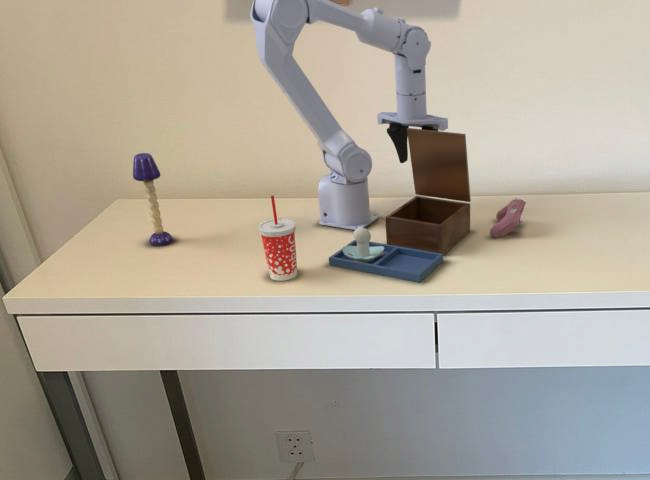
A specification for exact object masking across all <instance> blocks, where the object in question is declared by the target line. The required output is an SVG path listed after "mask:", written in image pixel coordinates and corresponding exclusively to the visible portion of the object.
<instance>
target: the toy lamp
mask: <svg viewBox="0 0 650 480" xmlns="http://www.w3.org/2000/svg"><path fill="white" fill-rule="evenodd" d="M132 163H133V164H132V177H133V179H134V180H135V181H137V182H143V185H144V186H145V187H144V191H145V193H146V199H147V202H148V208H149V210H150V212H149V215H150V218H151V224H152V225H153V233H152V234H151V235H150V237H149V244H150V245H151V246H153V247H154V246H155V247H162V246H163V247H164V246H168V245H170V244H172V243H173V242H174V239H173V236H172V234H170V233H169V232H168V231H164V226H163V225H162V224H163V220H162V218H161V211H160V204H159V202H158V196H157V194H156V187H155V185H154V182H155V180H157V179H159V178H160V177H161V172H160V170H159V168H158V165H157V163H156V162H155V159H154V158H153V155H152V154H150V153H148V152H141V153H137V154H135V155H134V156H133V162H132Z"/></svg>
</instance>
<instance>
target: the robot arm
mask: <svg viewBox="0 0 650 480" xmlns="http://www.w3.org/2000/svg"><path fill="white" fill-rule="evenodd" d="M384 12H385V11H384V9H383V8H382V9H381V8H379V7H374V8H373V9H371V8H367V9H365V10H364V11H362V12H360V13H359V12H358V11H355V10H352V9H350V8H347V7H345V6H343V5H340V4H337V3H335V2H333V1H330V0H252V5H251V8H250V14H249V17H250V19H251V22H252V24H253V30H254V36H255V44H256V51H257V56H258V59H259V61H260V62H261V64H262V66H263V67H264V68H265V70H266V71H267V72H268V74H269V75H270V77H271V78H272V80H273V81H274V82H275V83H276V85H277V86H278V88H279V89H280V90H281V92H282V93H283V94H284V96H285V98H287V100H288V102H289V103H290V104H291V106H292V107H293V108H294V110H295V111H296V112H297V114H298V115H299V117H300V118H301V120H302V121H303V122H304V124H305V125H306V126H307V128H308V130H309V131H310V132H311V133H312V135H313V136H314V137H315V139H316V142H317V143H316V144H317V147H318V148H319V149H320V152H321V155H322V160H323V163H324V164H325V166H326V167H327V168H328V169H329V174H326V175H324V176H323V177H322V178H321V179H320V180H319V184H318V188H317V198H318V207H319V215H320V220H319V221H318V224H319V225H322V226H328V227H333V228H338V229H339V228H340V229H346V230H352V231H355V230H356V229H357V228H365V229H366V228H367V227H368V226H369V225H371V224H372V223H373V222H375V221H376V220H378V219H379V218H380V215H379V214H373V213H371V207H370V193H369V180H368V177H369V175H370V173H371V171H372V169H373V159H372V156H371V155H370V153H369V152H368V151H367V150H366V149H364V148H362V147H360V146H359V145H357V143H356V142H355V140H354V139H353V138H352V137H351V136H350V135H349V134H348V133H347V132H346V130H344V129H343V128H342V127H341V125H340V123H339V122H338V120H337V119H336V118H335V116H334V115H333V113H332V112H331V110H330V109H329V107H328V106H327V104H326V103H325V101H324V100H323V99H322V97H321V95H320V94H319V93H318V91H317V90H316V88H315V87H314V85H313V84H312V82H311V81H310V80H309V78H308V76H307V75H306V74H305V72H304V71H303V69H302V68H301V66H300V65H299V63H298V62H297V61H296V59H295V57H294V56H293V53H294V48H295V44H296V41H297V39H298V38H299V35H300V34H301V32H302V30H303V29H304V27H305V25H306V24H308V25H313V24H315V23H317V22H318V21H321V22H325V23H327V24H330V25H333V26H336V27H340V28H343V29H346V30H349V31H351V32H354V33H355V35H356V37H357V39H358V41H359V42H360V43H362V44H365V45H368V46H371V47H373V48H376V49H379V50H382V51H385V52H388V53H391V54H392V55H393V57H394V75H395V76H394V77H395V78H394V79H395V95H396V97H395V98H396V112H395V111H394V112H391V111H390V112H388V111H381V112H379V113H377V114H376V117H377V118H376V119H377V125H384V124H385V125H388V128H386V134H387V135H388V137H389V138H390V140H391V142H392V143H393V146H394V148H395V151H396V153H397V157H398V160H399V164H404V163H406V162H408V158H409V152H408V151H409V147H408V134H407V129H408V128H410V127H415V128H420V129H423V130H432V131H442V132H445V131H446V130H447V129H449V118H448V117H441V116H436V115H433V114H428V112H427V111H428V109H427V82H426V81H427V79H426V65H427V63H426V62H427V61H426V59H427V57H428V54H429V53H430V50H431V47H432V41H430V40H429V36H428V34H427V32H426V31H425V29H423V28H422V27H420V26H417V25H413V24H409V23H407V22H406V19H405V18H402V17H398V18H395V17H393V16H390V15H388V14H384Z"/></svg>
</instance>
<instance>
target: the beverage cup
mask: <svg viewBox="0 0 650 480" xmlns="http://www.w3.org/2000/svg"><path fill="white" fill-rule="evenodd" d="M270 200H271V206H272V214H273V219H268V220H265V221H262V222H260V223H259V224H258V225H257V230H258V233H259V235H260V238H261V242H262V247H263V251H264V256H265V260H266V264H267V268H268V273H269V277H270V279H271V280H273V281H276V282H277V281H278V282H281V281H282V282H283V281H290V280H292V279H294V278H296V277H297V276H298V264H297V249H296V248H297V247H296V246H297V245H296V234H295V231H296V229H297V228H296V222H295V221H294V220H291V219H287V218H278V215H277V208H276V202H275V201H276V200H275V195H270Z"/></svg>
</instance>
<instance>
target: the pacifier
mask: <svg viewBox="0 0 650 480" xmlns="http://www.w3.org/2000/svg"><path fill="white" fill-rule="evenodd" d="M371 238H372V234H371V232H370V231H369V230H368V229H367V228H366V227H365V228H357V229H356V230H353V239H354V240H355V241H356V242H357V246H346V245H345V246H343V247H341V249H342V250H343V253H344V254H345V255H346V256H347V257H349V258H351V259H354V260H355V261H358V262H363V263H365V262H371V261H373V260H375V258H378V257H380V256H382V255H383V254H384V253H383V251H384V247H383V246H375V247H369V241H370V242H371Z"/></svg>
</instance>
